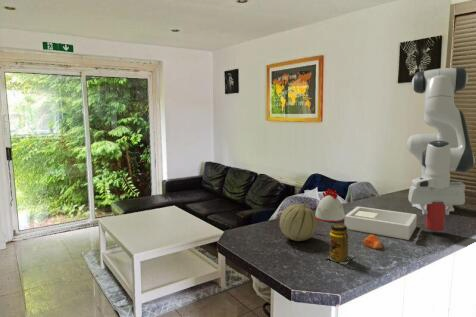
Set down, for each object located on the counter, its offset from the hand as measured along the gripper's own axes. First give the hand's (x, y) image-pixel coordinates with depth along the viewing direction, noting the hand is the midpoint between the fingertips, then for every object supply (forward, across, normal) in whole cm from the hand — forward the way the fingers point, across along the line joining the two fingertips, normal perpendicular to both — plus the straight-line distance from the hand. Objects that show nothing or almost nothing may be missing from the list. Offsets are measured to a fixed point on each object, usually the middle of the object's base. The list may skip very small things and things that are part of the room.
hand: (435, 214), depth 135 cm
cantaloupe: (+8, +56, +13) cm, 58 cm away
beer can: (+6, 0, 0) cm, 6 cm away
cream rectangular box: (+7, +26, -4) cm, 27 cm away
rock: (+9, +28, +17) cm, 34 cm away
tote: (+8, +21, -2) cm, 22 cm away
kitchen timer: (+8, +40, -15) cm, 44 cm away
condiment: (+8, +41, +29) cm, 51 cm away
